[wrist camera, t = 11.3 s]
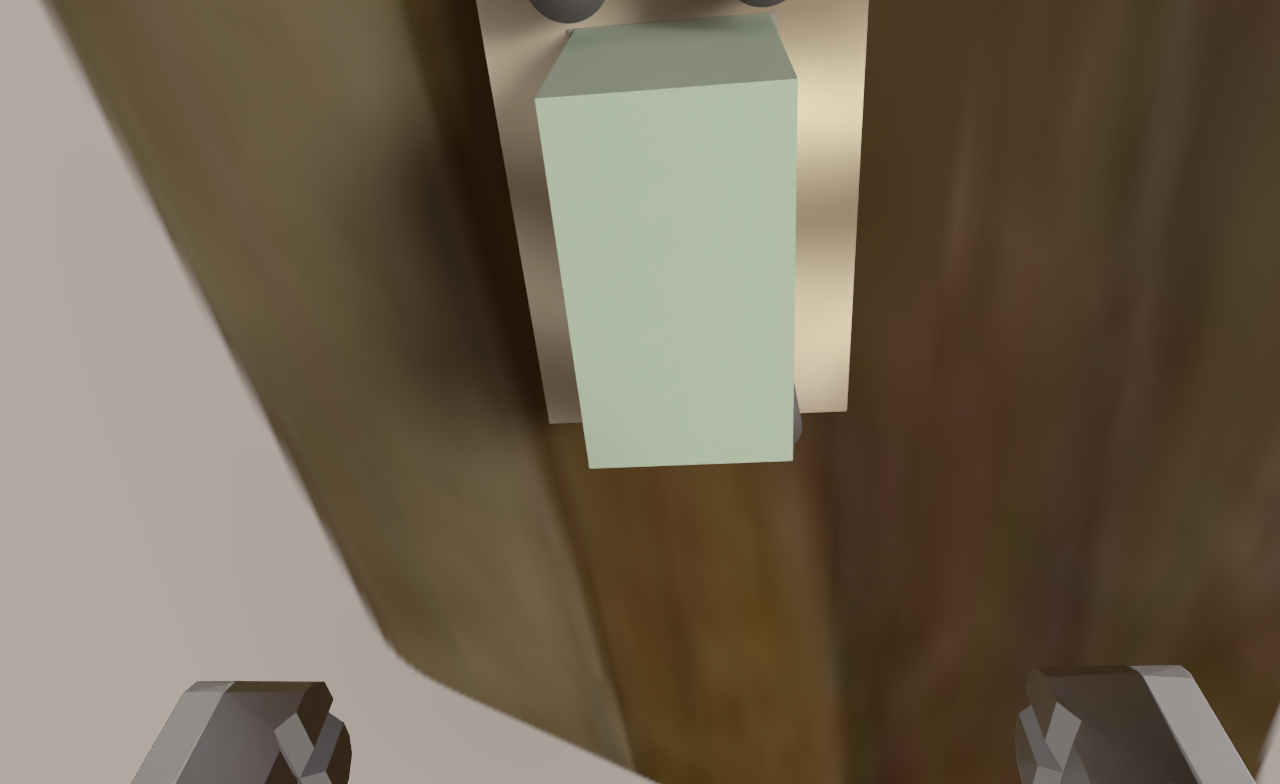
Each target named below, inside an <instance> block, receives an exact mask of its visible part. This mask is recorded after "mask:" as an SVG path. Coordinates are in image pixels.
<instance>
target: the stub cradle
mask: <svg viewBox="0 0 1280 784" xmlns="http://www.w3.org/2000/svg"><path fill="white" fill-rule="evenodd" d="M476 3H477V9H478V15H479V20H480V26H481V32H482V38H483V43H484V49H485V55H486V61H487V66H488V72H489V78H490V84H491V89H492V95H493V101H494V107H495V112H496V118H497V124H498V130H499V135H500V141H501V147H502V153H503V158H504V164H505V170H506V176H507V181H508V187H509V193H510V199H511V204H512V210H513V216H514V222H515V227H516V233H517V239H518V245H519V250H520V256H521V262H522V268H523V273H524V279H525V285H526V291H527V296H528V302H529V308H530V314H531V319H532V325H533V331H534V337H535V342H536V348H537V354H538V360H539V365H540V371H541V377H542V383H543V388H544V394H545V400H546V406H547V411H548V417H549V423H550V424H554V423H577V422H582V415H581V408H580V401H579V395H578V388H577V381H576V374H575V368H574V361H573V354H572V347H571V341H570V334H569V327H568V320H567V314H566V307H565V300H564V294H563V287H562V280H561V273H560V267H559V260H558V253H557V246H556V240H555V233H554V226H553V219H552V213H551V206H550V199H549V193H548V186H547V179H546V172H545V166H544V159H543V152H542V145H541V139H540V132H539V125H538V118H537V112H536V105H535V97H536V95H537V94H538V92H539V90H540V88H541V87H542V85H543V83H544V82H545V80H546V78H547V76H548V75H549V73H550V71H551V70H552V68H553V66H554V64H555V63H556V61H557V59H558V58H559V56H560V54H561V52H562V51H563V49H564V47H565V46H566V44H567V42H568V41H569V39H570V37H571V35H572V34H573V32H574V30H575V29H579V28H591V27H603V26H615V25H627V24H639V23H651V22H663V21H675V20H687V19H699V18H711V17H723V16H735V15H747V14H759V13H770V16H771V18H772V20H773V23H774V25H775V27H776V30H777V32H778V34H779V37H780V39H781V41H782V43H783V46H784V48H785V50H786V53H787V55H788V57H789V60H790V62H791V64H792V67H793V69H794V71H795V73H796V76H797V78H798V97H797V175H796V253H795V332H794V410H793V445H794V444H795V443H796V442H797V441H798V439H799V437H800V435H801V432H802V421H801V416H800V413H813V412H836V411H847V398H848V379H849V360H850V341H851V323H852V304H853V285H854V266H855V248H856V229H857V210H858V191H859V172H860V154H861V135H862V116H863V97H864V79H865V60H866V41H867V22H868V3H869V0H476Z"/></svg>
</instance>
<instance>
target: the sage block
mask: <svg viewBox="0 0 1280 784" xmlns="http://www.w3.org/2000/svg"><path fill="white" fill-rule="evenodd" d="M797 97H798V78H797V76H796V73H795V71H794V69H793V67H792V64H791V62H790V60H789V57H788V55H787V53H786V50H785V48H784V46H783V43H782V41H781V39H780V37H779V34H778V32H777V30H776V27H775V25H774V23H773V20H772V18H771V16H770V13H759V14H747V15H735V16H723V17H711V18H699V19H687V20H675V21H663V22H651V23H639V24H627V25H615V26H603V27H591V28H579V29H575V30H574V32H573V34H572V35H571V37H570V39H569V41H568V42H567V44H566V46H565V47H564V49H563V51H562V52H561V54H560V56H559V58H558V59H557V61H556V63H555V64H554V66H553V68H552V70H551V71H550V73H549V75H548V76H547V78H546V80H545V82H544V83H543V85H542V87H541V88H540V90H539V92H538V94H537V95H536V97H535V105H536V112H537V118H538V125H539V132H540V139H541V145H542V152H543V159H544V166H545V172H546V179H547V186H548V193H549V199H550V206H551V213H552V219H553V226H554V233H555V240H556V246H557V253H558V260H559V267H560V273H561V280H562V287H563V294H564V300H565V307H566V314H567V320H568V327H569V334H570V341H571V347H572V354H573V361H574V368H575V374H576V381H577V388H578V395H579V401H580V408H581V415H582V422H583V428H584V435H585V442H586V448H587V455H588V462H589V469H590V468H617V467H643V466H670V465H696V464H723V463H749V462H776V461H793V410H794V332H795V253H796V175H797Z"/></svg>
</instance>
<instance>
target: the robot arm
mask: <svg viewBox="0 0 1280 784" xmlns="http://www.w3.org/2000/svg"><path fill="white" fill-rule="evenodd" d="M1025 689H1026V692H1027V694H1028V697H1029V700H1030V702H1031V706H1029V707H1028V708H1027V709H1025V710H1024V711H1022V712H1021V713H1020V714H1019V717H1018V722H1017V727H1016V732H1015V738H1016V757H1017V762H1018V766H1019V771H1020V775H1021V779H1022V782H1023V784H1256V783H1255V781H1254V780H1253V778H1252V776H1251V775H1250V773H1249V771H1248V770H1247V768H1246V766H1245V765H1244V763H1243V761H1242V759H1241V758H1240V756H1239V754H1238V753H1237V751H1236V749H1235V748H1234V746H1233V744H1232V743H1231V741H1230V739H1229V738H1228V736H1227V734H1226V733H1225V731H1224V729H1223V727H1222V726H1221V724H1220V722H1219V721H1218V719H1217V717H1216V716H1215V714H1214V712H1213V711H1212V709H1211V707H1210V706H1209V704H1208V702H1207V701H1206V699H1205V697H1204V695H1203V694H1202V692H1201V690H1200V689H1199V687H1198V685H1197V684H1196V682H1195V680H1194V679H1193V677H1192V675H1191V674H1190V673H1189V672H1188V671H1187V670H1185V669H1184V668H1183V667H1182V666H1179V665H1155V666H1129V667H1128V666H1126V665H1107V666H1076V667H1045V668H1035V669H1034V670H1033V671H1032V672H1031V673H1030V674H1029V677H1028V681H1027V685H1026V688H1025ZM332 701H333V697H332V696H331V694H330V692H329V690H328V688H327V686H326V684H325V682H286V681H282V682H281V681H279V682H278V681H270V682H269V681H200V682H199V681H198V682H196V683H195V684H193V685H192V686H191V687H190V688H189V689H188V690H186V691H185V692H184V693H183V695H182V696H181V698H180V700H179V701H178V704H177V705H176V707H175V708H174V710H173V712H172V714H171V715H170V717H169V719H168V721H167V722H166V724H165V726H164V727H163V729H162V731H161V733H160V734H159V736H158V738H157V739H156V741H155V743H154V745H153V746H152V748H151V750H150V752H149V753H148V755H147V757H146V758H145V760H144V762H143V764H142V765H141V767H140V769H139V770H138V773H137V774H136V776H135V777H134V779H133V781H132V783H131V784H347V783H348V780H349V773H350V765H351V756H352V751H351V744H350V736H349V734H348V731H347V729H346V726H345V724H344V722H342V721H341V720H339V719H338V718H336V717H335V716H333V715H332V714H330V713H329V709H330V707H331V704H332Z"/></svg>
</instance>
